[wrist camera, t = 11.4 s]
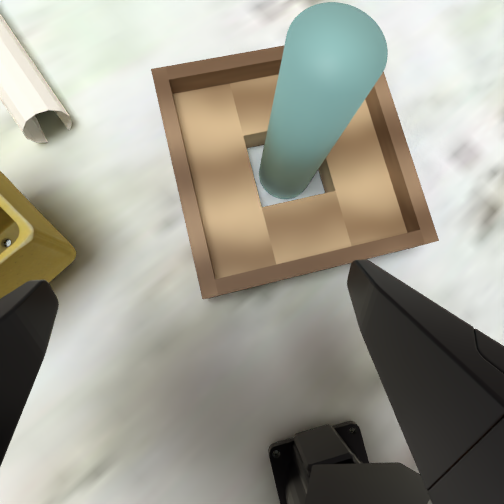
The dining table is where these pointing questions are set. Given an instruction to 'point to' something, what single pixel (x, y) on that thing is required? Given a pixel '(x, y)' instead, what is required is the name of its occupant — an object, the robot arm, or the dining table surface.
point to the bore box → (292, 212)
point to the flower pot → (28, 242)
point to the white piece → (25, 87)
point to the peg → (318, 91)
